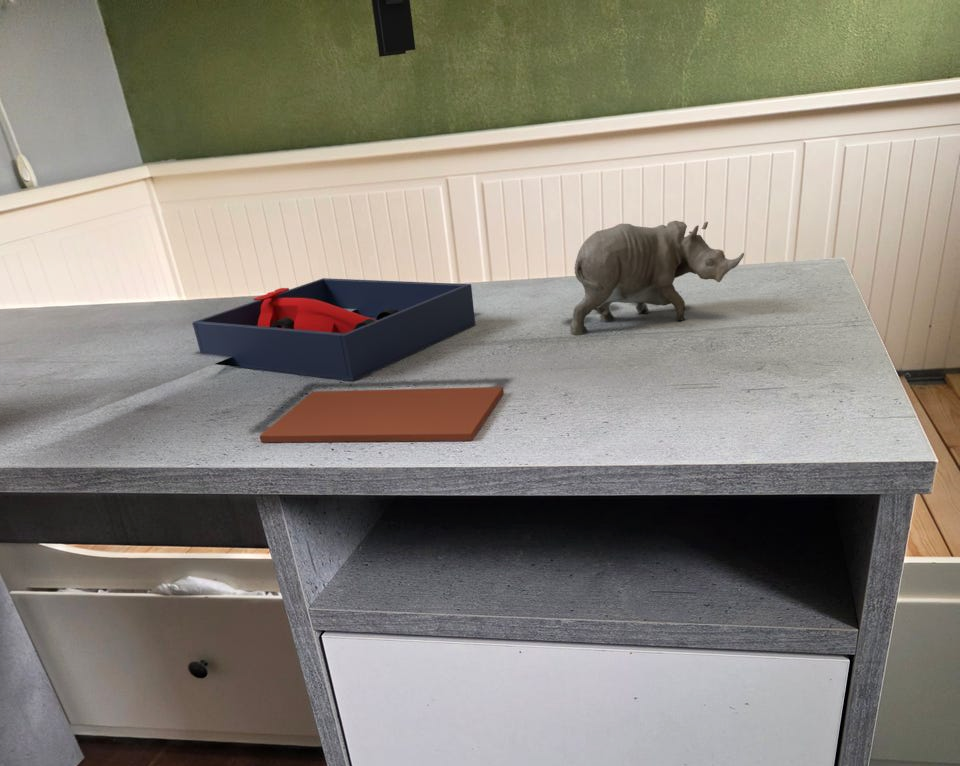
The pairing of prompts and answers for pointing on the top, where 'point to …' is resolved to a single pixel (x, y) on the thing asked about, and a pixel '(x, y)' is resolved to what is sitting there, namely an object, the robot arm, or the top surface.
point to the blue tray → (339, 355)
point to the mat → (386, 415)
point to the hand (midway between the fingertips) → (396, 54)
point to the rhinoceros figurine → (642, 268)
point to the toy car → (310, 314)
